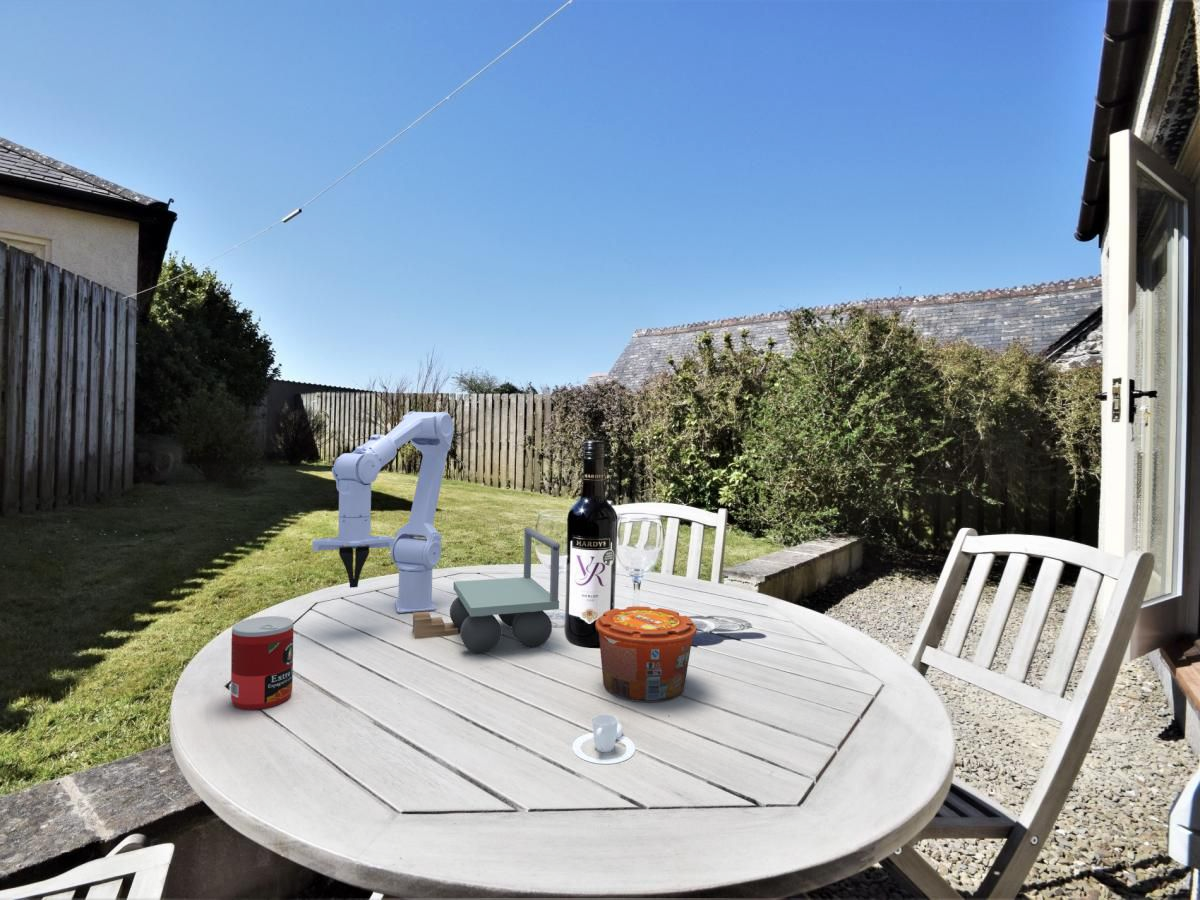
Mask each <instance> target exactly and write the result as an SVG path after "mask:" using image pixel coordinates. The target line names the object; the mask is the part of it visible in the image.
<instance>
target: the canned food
mask: <svg viewBox="0 0 1200 900" xmlns="http://www.w3.org/2000/svg"><path fill="white" fill-rule="evenodd" d="M230 644H231V650H230V651H231V661H230V663H231V664H230V666H231V667H230V669H231V671H230V673H231V676H230V683H231V685H230V699H231V702H232V705H233V706H234V707H236V708H238V709H240V710H250V711H253V710H263V709H268V708H272V707H276V706H278V705H281V704H283V703H284V702H287V700H289V698H290V697H291V694H292V692H293V681H294V680H293V674H294V667H293V666H294V620H293V619H292V618H289V617H285V616H275V615H274V616H260V617H253V618H248V619H244V620H242V621H238V622H237V623H235V624H233V626H232V629H231V643H230Z"/></svg>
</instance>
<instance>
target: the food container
mask: <svg viewBox="0 0 1200 900" xmlns="http://www.w3.org/2000/svg"><path fill="white" fill-rule="evenodd" d="M594 625H595V630H596V631H597V633H598V636H599V637H598V640H599V651H600V652H599V653H600V663H601V672H602V673H601V674H602V683H603V687H604V688H605V689H606V690H607V691H609V692H610V693H612V694H613V695H614V696H616V697H618V698H621V699H624V700H628V701H632V702H638V703H639V702H641V703H660V702H665V701H670V700H673V699H675V698H677V697H678V696H680V695H682V694H683V692H684V690H685V687H686V686H685V685H686V680H687V674H688V667H689V661H690V660H689V659H690V655H691V651H692V650H691V649H692V644H693V636H695V635H697V628H698V627H697V625H696V624H695V623H694V622H693V621H692V619H691V618H690V617H689V616H687V615H681V614H680V613H679V612H678V611H677V610H673V609H672V610H671V609H666V608H662V607H658V608H651V606H638V605H637V606H636V605H635V606H627V607H626V608H624V609H620V608H613V609H609V610H607V611H604V612H603V614H602V615H600V616H599V617H598V619H597V620H596V621H595V624H594Z"/></svg>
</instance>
